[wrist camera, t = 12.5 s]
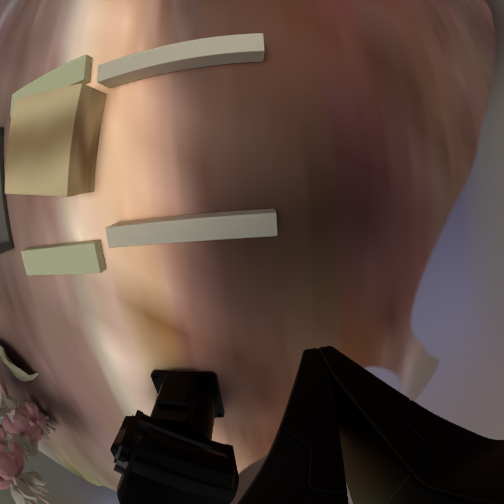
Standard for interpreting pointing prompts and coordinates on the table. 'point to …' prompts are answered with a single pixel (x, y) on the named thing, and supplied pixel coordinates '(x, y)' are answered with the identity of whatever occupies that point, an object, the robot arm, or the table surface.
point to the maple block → (54, 142)
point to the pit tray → (3, 207)
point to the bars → (70, 254)
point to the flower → (20, 441)
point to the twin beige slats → (194, 224)
